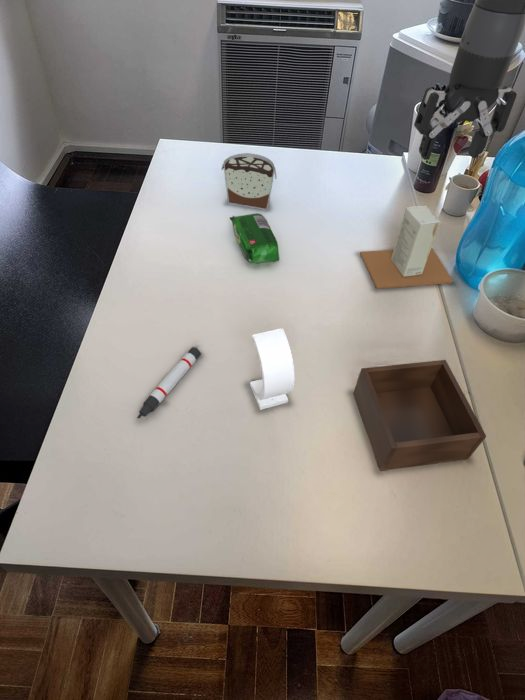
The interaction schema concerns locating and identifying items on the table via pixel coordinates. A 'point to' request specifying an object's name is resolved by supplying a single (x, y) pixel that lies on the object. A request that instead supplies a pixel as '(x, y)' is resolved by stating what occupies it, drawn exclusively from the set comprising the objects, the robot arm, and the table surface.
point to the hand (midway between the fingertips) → (448, 156)
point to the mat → (390, 276)
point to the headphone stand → (273, 369)
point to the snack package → (255, 238)
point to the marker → (169, 381)
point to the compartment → (416, 415)
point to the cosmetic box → (415, 240)
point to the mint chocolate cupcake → (249, 180)
